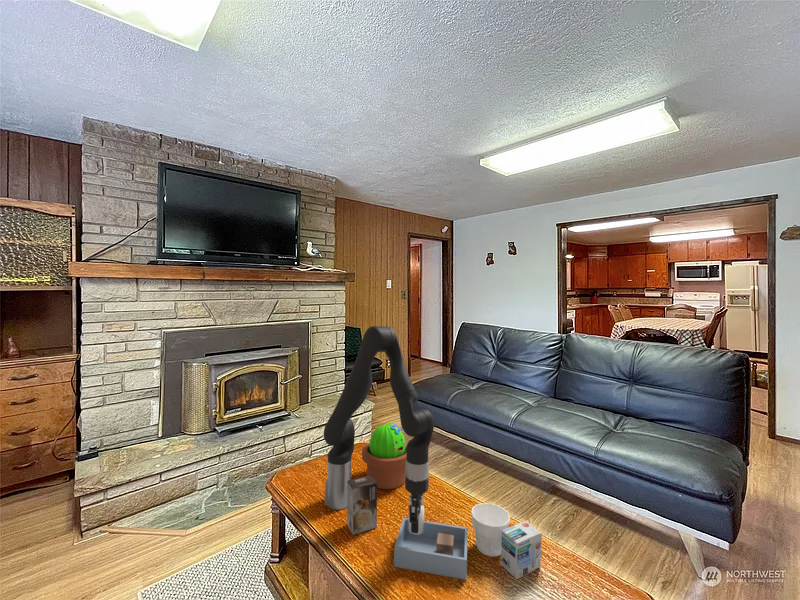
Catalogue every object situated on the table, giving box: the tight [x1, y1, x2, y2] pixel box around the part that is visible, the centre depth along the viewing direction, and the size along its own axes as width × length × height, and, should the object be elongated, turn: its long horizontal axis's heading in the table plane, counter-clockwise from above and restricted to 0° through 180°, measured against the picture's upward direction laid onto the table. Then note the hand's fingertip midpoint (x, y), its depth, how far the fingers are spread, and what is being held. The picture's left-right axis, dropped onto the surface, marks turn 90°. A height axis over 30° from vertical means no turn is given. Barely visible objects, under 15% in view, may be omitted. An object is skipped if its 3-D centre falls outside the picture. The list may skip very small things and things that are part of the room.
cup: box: [470, 502, 511, 557], centre depth 115 cm, size 12×12×11 cm
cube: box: [436, 533, 454, 556], centre depth 110 cm, size 5×5×5 cm
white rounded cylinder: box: [408, 504, 425, 535], centre depth 112 cm, size 5×5×7 cm
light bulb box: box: [500, 520, 543, 580], centre depth 107 cm, size 11×7×11 cm, turn 119°
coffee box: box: [346, 475, 378, 535], centre depth 124 cm, size 9×6×16 cm
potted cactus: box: [361, 422, 408, 490], centre depth 156 cm, size 22×22×25 cm
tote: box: [393, 517, 469, 581], centre depth 111 cm, size 22×15×6 cm
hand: (416, 526), depth 112 cm, fingers closed on white rounded cylinder, 5 cm apart
